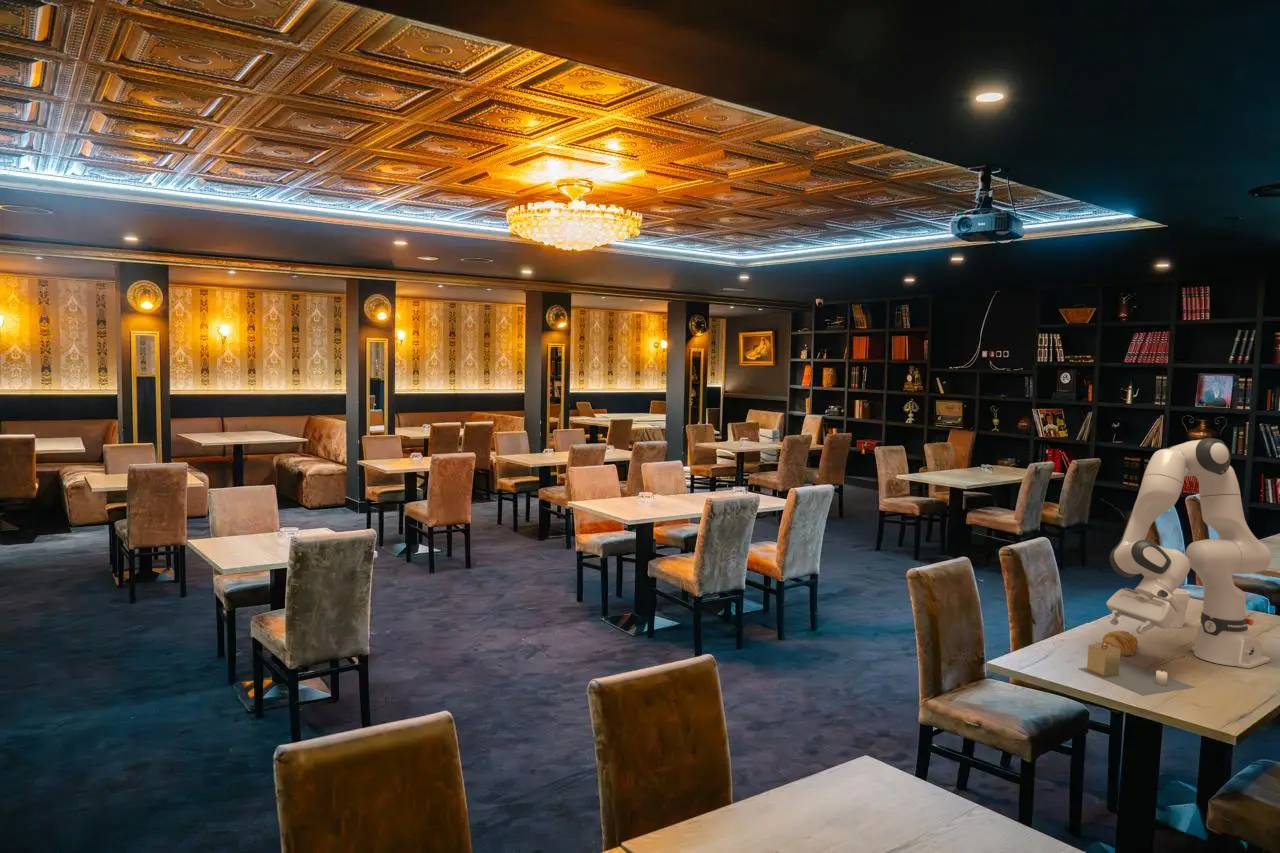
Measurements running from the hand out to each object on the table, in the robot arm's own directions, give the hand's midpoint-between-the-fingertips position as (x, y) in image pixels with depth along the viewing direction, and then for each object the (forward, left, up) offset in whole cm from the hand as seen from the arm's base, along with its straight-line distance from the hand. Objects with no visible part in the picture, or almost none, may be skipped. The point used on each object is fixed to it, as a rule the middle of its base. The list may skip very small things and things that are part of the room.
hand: (1125, 628), depth 258 cm
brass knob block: (+10, +1, -13) cm, 16 cm away
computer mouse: (+1, +13, -13) cm, 18 cm away
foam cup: (-60, -30, -14) cm, 69 cm away
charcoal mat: (+4, +7, -13) cm, 16 cm away
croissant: (-15, -14, -14) cm, 25 cm away
